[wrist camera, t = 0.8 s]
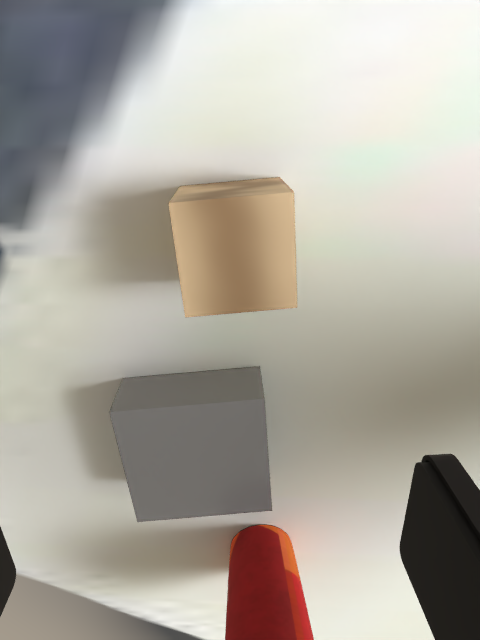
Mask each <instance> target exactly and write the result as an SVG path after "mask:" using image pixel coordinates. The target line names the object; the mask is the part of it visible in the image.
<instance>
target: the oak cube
mask: <svg viewBox="0 0 480 640" xmlns="http://www.w3.org/2000/svg"><path fill="white" fill-rule="evenodd" d="M168 204H169V211H170V218H171V224H172V231H173V238H174V245H175V251H176V258H177V265H178V272H179V278H180V285H181V292H182V299H183V305H184V312H185V317H195V316H206V315H218V314H229V313H241V312H252V311H264V310H275V309H287V308H297V281H296V244H295V207H294V191H293V190H292V189H291V188H290V187H289V186H288V185H287V184H286V183H285V182H284V181H283V180H282V179H281V178H280V177H276V178H264V179H253V180H242V181H230V182H219V183H208V184H197V185H185V186H180V187H179V188H178V190H177V191H176V193H175V194H174V196H173V197H172V198H171V200H170V201H169V203H168Z"/></svg>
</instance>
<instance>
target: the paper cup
mask: <svg viewBox="0 0 480 640" xmlns="http://www.w3.org/2000/svg"><path fill="white" fill-rule="evenodd" d="M225 640H314V639H313V634H312V630H311V625H310V621H309V616H308V612H307V607H306V603H305V598H304V594H303V589H302V585H301V581H300V576H299V572H298V568H297V563H296V559H295V555H294V551H293V547H292V543H291V540H290V538H289V536H288V535H287V533H286V532H284V531H283V530H282V529H280V528H278V527H275V526H271V525H255V526H250V527H248V528H245V529H243V530H242V531H240V532H239V533H238V534H237V535H236V536H235V537H234V538H233V540H232V543H231V549H230V561H229V577H228V595H227V614H226V634H225Z"/></svg>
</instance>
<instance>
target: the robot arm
mask: <svg viewBox="0 0 480 640" xmlns="http://www.w3.org/2000/svg"><path fill="white" fill-rule="evenodd" d="M400 554H401V559H402V562H403V564H404V567H405V569H406V571H407V574H408V576H409V579H410V581H411V583H412V586H413V588H414V591H415V593H416V595H417V598H418V600H419V602H420V605H421V607H422V610H423V612H424V614H425V617H426V619H427V622H428V624H429V626H430V629H431V631H432V633H433V636H434V638H435V640H480V490H479V489H478V487H477V486H476V485H475V483H474V482H473V480H472V479H471V477H470V476H469V475H468V473H467V472H466V470H465V469H464V468H463V466H462V465H461V463H460V462H459V461H458V459H457V458H456V457H455V456H454V455H452V454H440V455H425V456H424V457H423V459H422V462H419V463H416V465H415V468H414V473H413V479H412V484H411V489H410V494H409V499H408V504H407V510H406V515H405V520H404V525H403V530H402V535H401V541H400ZM15 579H16V568H15V565H14V562H13V559H12V557H11V554H10V551H9V549H8V546H7V543H6V541H5V538H4V535H3V532H2V530H1V527H0V616H1V614H2V612H3V609H4V607H5V605H6V603H7V600H8V598H9V596H10V593H11V591H12V589H13V586H14V583H15Z"/></svg>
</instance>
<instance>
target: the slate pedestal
mask: <svg viewBox="0 0 480 640" xmlns="http://www.w3.org/2000/svg"><path fill="white" fill-rule="evenodd" d="M109 413H110V417H111V420H112V424H113V428H114V432H115V436H116V440H117V444H118V448H119V452H120V456H121V459H122V463H123V467H124V471H125V475H126V479H127V483H128V487H129V491H130V495H131V498H132V502H133V506H134V510H135V514H136V518H137V522H143V521H155V520H167V519H179V518H190V517H202V516H214V515H226V514H237V513H249V512H261V511H272V502H271V487H270V473H269V458H268V444H267V429H266V415H265V400H264V392H263V385H262V378H261V371H260V366H259V367H248V368H236V369H225V370H213V371H202V372H190V373H179V374H167V375H156V376H144V377H133V378H123V379H122V382H121V384H120V387H119V389H118V392H117V394H116V397H115V399H114V402H113V404H112V407H111V409H110V412H109Z"/></svg>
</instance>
